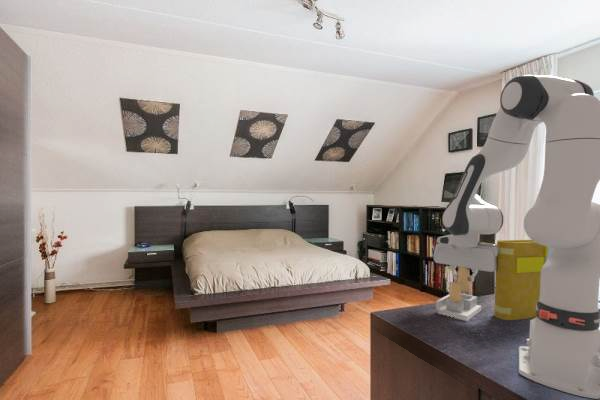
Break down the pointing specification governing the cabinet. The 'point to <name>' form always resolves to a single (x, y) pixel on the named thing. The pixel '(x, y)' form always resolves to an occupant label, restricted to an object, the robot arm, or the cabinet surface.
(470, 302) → the housing
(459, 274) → the tan wooden block
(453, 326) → the cabinet surface
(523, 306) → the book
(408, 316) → the cabinet surface
